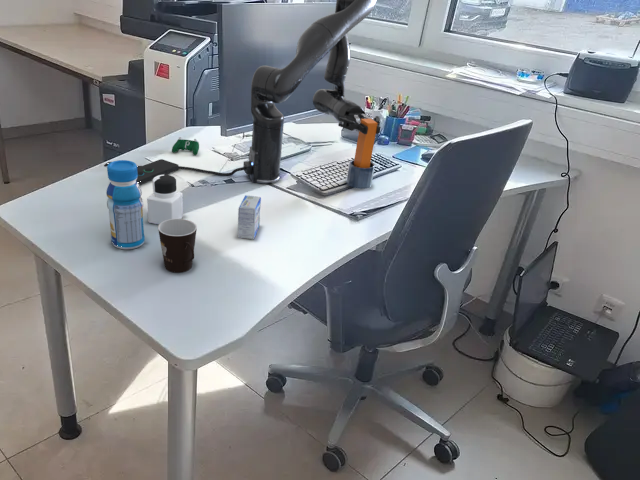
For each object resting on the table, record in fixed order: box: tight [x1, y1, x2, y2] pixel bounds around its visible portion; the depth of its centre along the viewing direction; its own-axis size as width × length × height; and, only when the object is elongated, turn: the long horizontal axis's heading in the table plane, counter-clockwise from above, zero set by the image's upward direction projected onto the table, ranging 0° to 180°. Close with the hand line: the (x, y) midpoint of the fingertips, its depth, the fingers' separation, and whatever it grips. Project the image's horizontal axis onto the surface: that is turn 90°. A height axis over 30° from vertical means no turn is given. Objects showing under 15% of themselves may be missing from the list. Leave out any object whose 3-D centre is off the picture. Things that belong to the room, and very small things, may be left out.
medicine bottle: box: [146, 174, 184, 225], centre depth 146 cm, size 7×7×12 cm
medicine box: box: [237, 195, 262, 240], centre depth 142 cm, size 8×4×9 cm, turn 168°
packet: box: [353, 118, 378, 168], centre depth 167 cm, size 3×5×14 cm
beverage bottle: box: [105, 159, 146, 250], centre depth 132 cm, size 8×8×20 cm
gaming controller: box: [171, 136, 200, 156], centre depth 193 cm, size 9×4×6 cm
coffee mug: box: [157, 218, 198, 274], centre depth 125 cm, size 12×9×10 cm
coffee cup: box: [346, 159, 376, 190], centre depth 173 cm, size 8×8×7 cm
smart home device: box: [136, 158, 179, 186], centre depth 174 cm, size 8×2×20 cm
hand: (372, 130), depth 162 cm, fingers closed on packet, 3 cm apart
